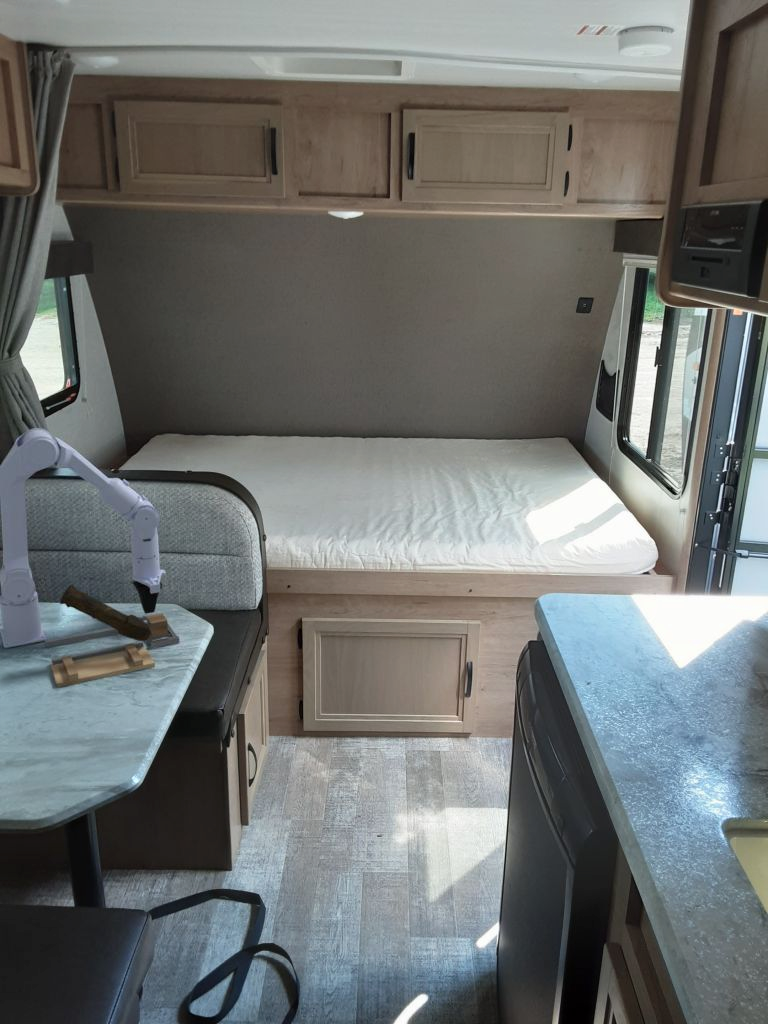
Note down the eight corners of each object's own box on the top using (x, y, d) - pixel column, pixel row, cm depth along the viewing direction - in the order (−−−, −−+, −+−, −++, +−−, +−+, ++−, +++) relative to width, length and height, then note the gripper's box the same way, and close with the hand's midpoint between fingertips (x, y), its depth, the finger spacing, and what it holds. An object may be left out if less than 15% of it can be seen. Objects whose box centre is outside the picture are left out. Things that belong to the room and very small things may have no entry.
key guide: (139, 629, 173) (139, 624, 173) (166, 624, 176) (166, 619, 176) (151, 648, 165) (151, 643, 165) (179, 642, 168) (179, 637, 167)
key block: (147, 631, 172) (146, 616, 171) (163, 628, 174) (162, 613, 173) (152, 638, 169) (151, 623, 168) (168, 635, 171) (167, 620, 170)
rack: (50, 669, 156) (49, 659, 155) (144, 649, 164) (144, 641, 164) (57, 687, 149) (56, 677, 148) (154, 666, 158) (154, 657, 157)
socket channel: (45, 645, 165) (44, 640, 165) (131, 628, 173) (131, 623, 173) (53, 666, 156) (52, 661, 156) (143, 648, 165) (143, 643, 165)
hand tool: (55, 605, 155) (67, 592, 153) (63, 591, 159) (74, 578, 156) (139, 652, 163) (151, 640, 160) (145, 637, 166) (157, 626, 164)
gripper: (172, 562, 171) (176, 620, 175) (155, 542, 183) (158, 597, 187) (139, 567, 168) (143, 626, 172) (123, 546, 180) (127, 602, 184)
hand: (149, 611), depth 179 cm, fingers closed
